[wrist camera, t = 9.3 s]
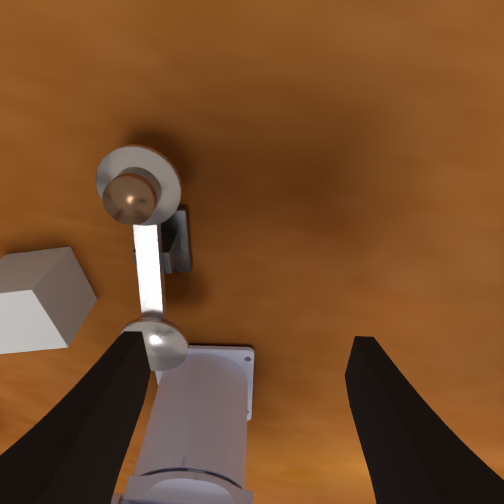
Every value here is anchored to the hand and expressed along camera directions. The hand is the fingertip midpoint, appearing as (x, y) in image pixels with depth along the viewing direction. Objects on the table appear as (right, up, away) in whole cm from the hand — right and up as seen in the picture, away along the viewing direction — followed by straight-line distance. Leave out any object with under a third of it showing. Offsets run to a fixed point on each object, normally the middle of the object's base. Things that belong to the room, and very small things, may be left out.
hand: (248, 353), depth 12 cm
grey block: (-14, +2, +12) cm, 18 cm away
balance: (-5, +4, +10) cm, 12 cm away
